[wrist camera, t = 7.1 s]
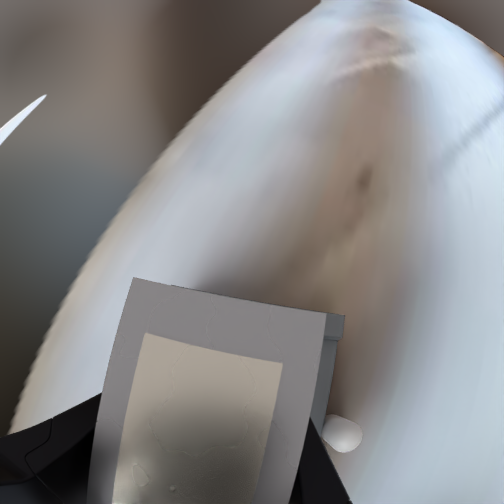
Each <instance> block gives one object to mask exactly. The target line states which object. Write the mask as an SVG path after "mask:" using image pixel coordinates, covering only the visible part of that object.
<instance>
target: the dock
mask: <svg viewBox="0 0 504 504" xmlns="http://www.w3.org/2000/svg"><path fill="white" fill-rule="evenodd" d="M171 286H174V285H171ZM175 287H179V286H175ZM180 288H184V287H180ZM185 289H189V288H185ZM189 290H194V289H189ZM194 291H199V290H194ZM199 292H204V291H199ZM204 293H209V292H204ZM209 294H214V293H209ZM214 295H219V294H214ZM220 296H224V295H220ZM225 297H230V296H225ZM230 298H235V297H230ZM235 299H241V298H235ZM241 300H246V299H241ZM246 301H252V300H246ZM252 302H257V301H252ZM258 303H263V302H258ZM263 304H269V303H263ZM269 305H275V304H269ZM275 306H281V305H275ZM281 307H287V306H281ZM287 308H293V307H287ZM293 309H299V308H293ZM299 310H306V309H299ZM306 311H312V310H306ZM312 312H319V311H312ZM319 313H325V312H319ZM325 314H326V322H325V329H324V336H323V343H322V350H321V356H320V363H319V369H318V375H317V380H316V386H315V391H314V397H313V402H312V407H311V412H310V417H311V419H312V421H313V423H314V425H315V427H316V429H317V431H318V433H319V436H320V438H321V437H322V438H323V439H324V440H325V441H326V442H327V443H328V444H329V445H330V446H332V447H333V448H334V449H335V450H336V451H339V452H349V451H352V450H354V449H355V448H356V447H357V446H358V445H359V444H360V442H361V440H362V437H363V432H362V429H361V427H360V426H359V425H358V424H357V423H355V422H352V421H350V420H347V419H345V418H343V417H340V416H338V415H335V414H330V415H326V410H327V404H328V399H329V394H330V388H331V382H332V376H333V370H334V364H335V357H336V350H337V343H338V340H339V339H341V338H342V336H343V328H344V319H345V315H339V314H332V313H325ZM325 415H326V416H325Z"/></svg>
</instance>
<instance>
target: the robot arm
mask: <svg viewBox="0 0 504 504" xmlns="http://www.w3.org/2000/svg"><path fill="white" fill-rule="evenodd" d="M101 396H102V393H100V394H98V395H96V396H94V397H92V398H90V399H88V400H86V401H84V402H83V403H81V404H79V405H77V406H75V407H73V408H71V409H69V410H67V411H65V412H63V413H61V414H59V415H57V416H55V417H53V419H52V418H50V419H48V420H46V421H44V422H42V423H40V424H37V425H35V426H33V427H30V428H28V429H25V430H22V431H19V432H16V433H13V434H10V435H7V436H3V437H0V504H86V502H87V489H88V479H89V470H90V461H91V454H92V447H93V440H94V434H95V428H96V422H97V416H98V411H99V406H100V401H101ZM288 504H353V503H352V501H351V500H350V498H349V496H348V494H347V492H346V489H345V487H344V485H343V483H342V481H341V479H340V477H339V475H338V473H337V471H336V469H335V467H334V465H333V463H332V461H331V459H330V456H329V454H328V452H327V450H326V448H325V446H324V444H323V442H322V440H321V438H320V436H319V433H318V431H317V429H316V427H315V425H314V423H313V421H312V419H311V417H309V422H308V427H307V431H306V436H305V440H304V445H303V449H302V453H301V457H300V461H299V465H298V469H297V473H296V477H295V481H294V485H293V488H292V492H291V496H290V499H289V503H288Z"/></svg>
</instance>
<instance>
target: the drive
mask: <svg viewBox="0 0 504 504" xmlns="http://www.w3.org/2000/svg"><path fill="white" fill-rule="evenodd" d="M325 322H326V314H325V313H319V312H312V311H306V310H299V309H293V308H287V307H281V306H275V305H269V304H263V303H258V302H252V301H246V300H241V299H235V298H230V297H225V296H220V295H214V294H209V293H204V292H199V291H194V290H189V289H185V288H180V287H175V286H170V285H166V284H161V283H157V282H152V281H148V280H143V279H139V278H134V277H133V280H132V283H131V286H130V289H129V293H128V296H127V299H126V302H125V305H124V309H123V312H122V316H121V319H120V323H119V326H118V330H117V333H116V337H115V341H114V345H113V348H112V352H111V356H110V360H109V364H108V369H107V373H106V377H105V382H104V386H103V391H102V396H101V401H100V406H99V411H98V416H97V422H96V428H95V434H94V440H93V447H92V454H91V461H90V470H89V479H88V489H87V502H86V504H288V503H289V499H290V496H291V492H292V488H293V485H294V481H295V477H296V473H297V469H298V465H299V461H300V457H301V453H302V449H303V445H304V440H305V436H306V431H307V427H308V422H309V417H310V412H311V407H312V402H313V397H314V391H315V386H316V380H317V375H318V369H319V363H320V356H321V350H322V343H323V336H324V329H325Z"/></svg>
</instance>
